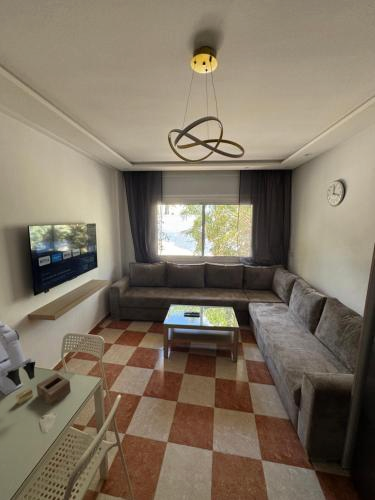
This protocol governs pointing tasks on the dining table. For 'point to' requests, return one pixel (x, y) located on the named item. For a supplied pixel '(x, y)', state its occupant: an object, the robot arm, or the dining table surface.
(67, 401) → the dining table surface
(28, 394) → the gold metal block
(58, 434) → the dining table surface
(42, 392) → the box
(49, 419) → the arrowhead
